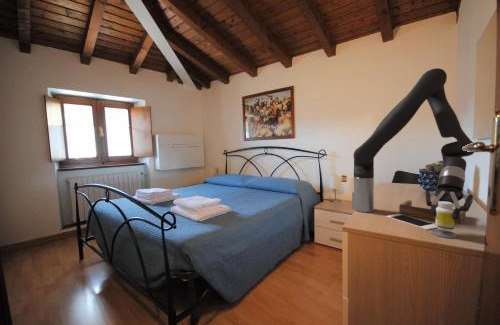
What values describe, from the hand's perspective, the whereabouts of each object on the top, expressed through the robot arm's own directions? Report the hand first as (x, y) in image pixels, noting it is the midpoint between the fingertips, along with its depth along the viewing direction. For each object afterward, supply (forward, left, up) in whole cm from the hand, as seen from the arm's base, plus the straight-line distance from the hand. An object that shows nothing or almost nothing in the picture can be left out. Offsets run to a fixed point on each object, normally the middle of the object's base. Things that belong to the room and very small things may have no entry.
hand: (443, 217), depth 81 cm
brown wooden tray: (-11, +26, -7) cm, 29 cm away
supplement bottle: (0, +2, -5) cm, 5 cm away
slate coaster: (0, +2, -7) cm, 7 cm away
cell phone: (-13, +8, -8) cm, 17 cm away
